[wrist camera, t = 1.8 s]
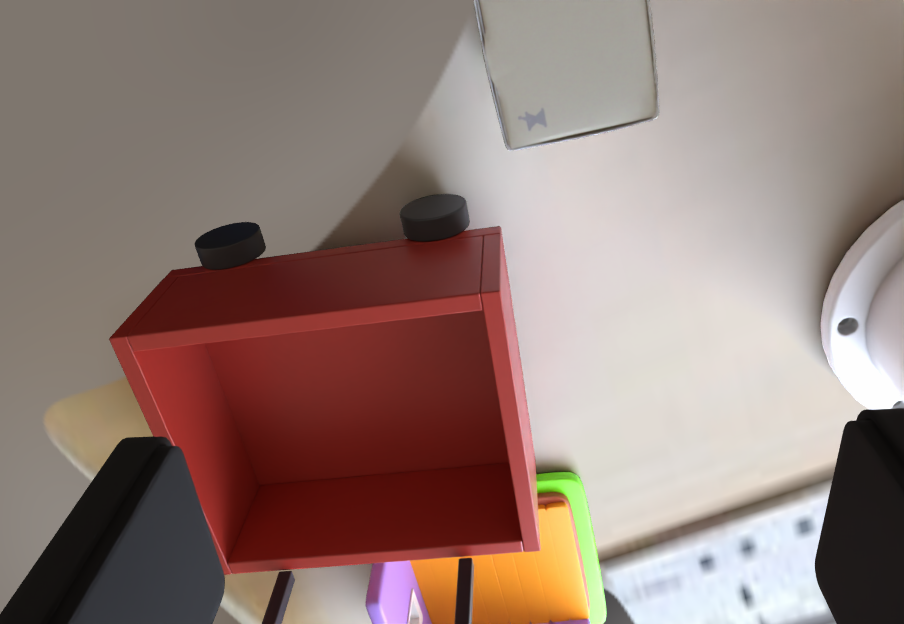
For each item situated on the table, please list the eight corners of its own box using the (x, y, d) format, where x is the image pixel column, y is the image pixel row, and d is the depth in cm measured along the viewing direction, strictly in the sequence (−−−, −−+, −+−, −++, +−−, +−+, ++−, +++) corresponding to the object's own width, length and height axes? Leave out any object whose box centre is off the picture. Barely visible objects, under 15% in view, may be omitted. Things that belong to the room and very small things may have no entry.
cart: (497, 185, 31) (495, 340, 20) (536, 449, 38) (550, 674, 27) (180, 230, 33) (18, 395, 22) (271, 473, 40) (182, 693, 29)
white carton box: (613, 61, 28) (663, 130, 20) (502, 85, 29) (501, 162, 20) (596, -88, 26) (644, -86, 17) (475, -58, 27) (461, -41, 18)
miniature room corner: (415, 637, 46) (402, 748, 40) (362, 494, 40) (337, 598, 34) (609, 618, 44) (626, 731, 38) (581, 466, 38) (595, 569, 32)
